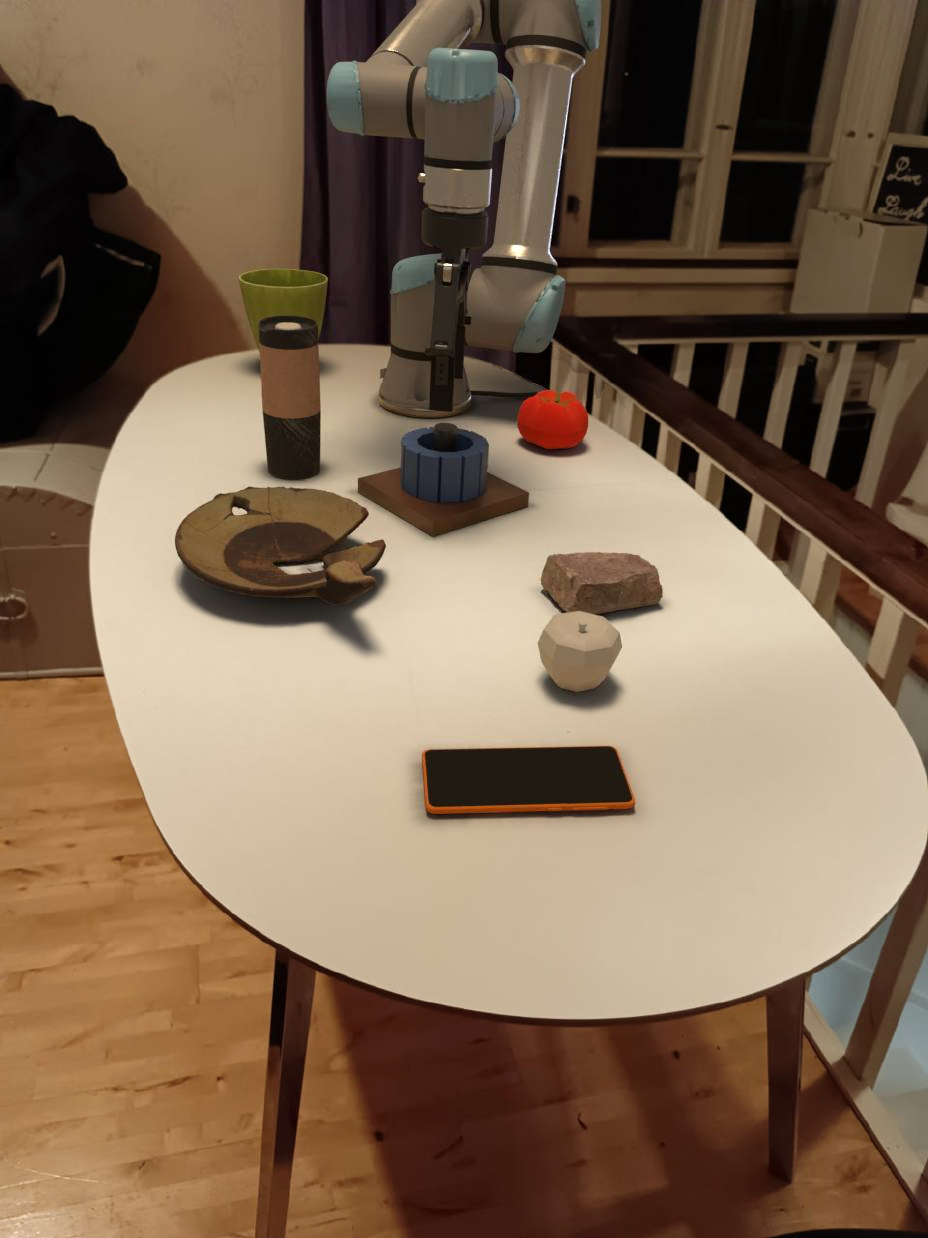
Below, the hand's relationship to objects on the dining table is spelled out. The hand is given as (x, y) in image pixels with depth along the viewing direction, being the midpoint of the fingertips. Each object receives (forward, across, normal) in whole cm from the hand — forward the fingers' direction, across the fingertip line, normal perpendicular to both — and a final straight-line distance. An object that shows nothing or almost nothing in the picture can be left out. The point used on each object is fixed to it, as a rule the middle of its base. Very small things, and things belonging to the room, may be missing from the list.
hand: (446, 393), depth 118 cm
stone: (+15, +22, +20) cm, 33 cm away
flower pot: (+14, -51, -33) cm, 62 cm away
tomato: (+14, -24, +14) cm, 32 cm away
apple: (+15, +39, +17) cm, 45 cm away
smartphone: (+15, +55, +13) cm, 58 cm away
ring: (+12, 0, 0) cm, 12 cm away
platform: (+14, 0, 0) cm, 14 cm away
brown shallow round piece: (+15, +25, -14) cm, 33 cm away
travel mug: (+14, -6, -21) cm, 26 cm away
